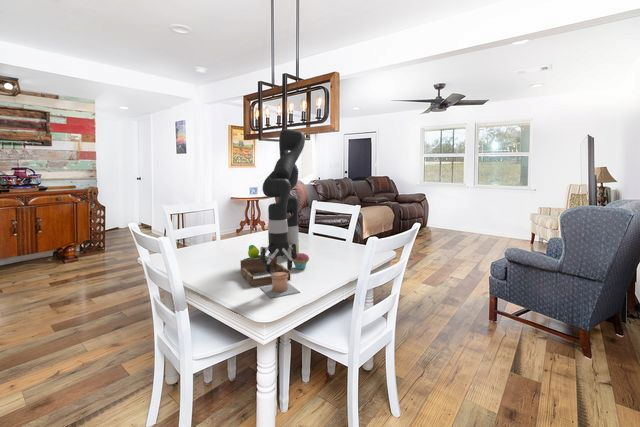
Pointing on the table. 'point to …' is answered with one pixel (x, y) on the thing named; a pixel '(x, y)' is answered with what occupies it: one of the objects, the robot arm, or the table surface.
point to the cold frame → (260, 270)
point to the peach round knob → (279, 282)
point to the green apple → (253, 252)
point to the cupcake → (300, 260)
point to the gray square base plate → (277, 294)
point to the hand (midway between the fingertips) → (279, 271)
